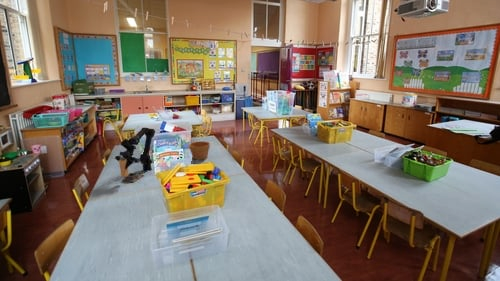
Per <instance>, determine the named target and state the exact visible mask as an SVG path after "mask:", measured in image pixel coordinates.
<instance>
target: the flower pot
mask: <svg viewBox="0 0 500 281" xmlns="http://www.w3.org/2000/svg"><path fill="white" fill-rule="evenodd" d="M188 146H189V148H188V149H189V150H190V153H191V156H192V159H194V160H199V161H201V160H206V159H207V158H208V157H209V156H208V155H209V151H210V148H211V147H210V146H211V145H210V142H208V141H195V142H191V143H188Z"/></svg>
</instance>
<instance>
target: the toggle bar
mask: <svg viewBox="0 0 500 281" xmlns="http://www.w3.org/2000/svg"><path fill="white" fill-rule="evenodd" d="M121 157H122V156H121ZM118 163H119V169H120V176H121V178H122V177H124V178H125V177H126V176H128V175H129V167H128V168H127V169H125V166H126V164H127V159H125V158H124V157H122V158H121V160H119V161H118Z"/></svg>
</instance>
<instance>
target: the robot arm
mask: <svg viewBox="0 0 500 281" xmlns="http://www.w3.org/2000/svg"><path fill="white" fill-rule="evenodd" d="M155 134H156V130H155V129H154V128H148V127H141V129H140V130H139V131H138V132H137V133H136V134H135V135H134V136H131V137H130V138H129V139H127V138H124V140H122V141H121V142H120V146H122V148H124V149H126V150H125V151H120V152H119V155H115V157H114V159H115V160H116V161H117V162H119V160H121V158H122V157H124V158H125V159H127V164H126V166H125V169H127V168H128V169H129V167H130V166H131V165H132V164H135V163H136V164H139V161H140V164H142V170H143V171H144V172H148V171H152V170H153V168H152V163H153V160H152V158H150V155H149V151H150V145H152V141H153V138H154V136H155ZM144 136H145V142H144V146H145V147H144V146H143V147H144V152H143V154H142V153H141V154H140V156H139V159H138V158H137V157H136V156H134V155H135V154H134V151H135V150H137V147H136V146H137V145H139V143H140V140H141V139H142V138H143V137H144Z"/></svg>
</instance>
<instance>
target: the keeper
mask: <svg viewBox="0 0 500 281" xmlns="http://www.w3.org/2000/svg"><path fill="white" fill-rule="evenodd" d="M128 173H129V172H128ZM143 177H145V174H139V173H136V172H135V173H134V172H130V173H129V175H128V176H126V177H124V178H123V179H122V180H121V182H122V183H123V182H126V183H133V184H134V183H136V182H137V181H138V180H140V179H142V178H143Z"/></svg>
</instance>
